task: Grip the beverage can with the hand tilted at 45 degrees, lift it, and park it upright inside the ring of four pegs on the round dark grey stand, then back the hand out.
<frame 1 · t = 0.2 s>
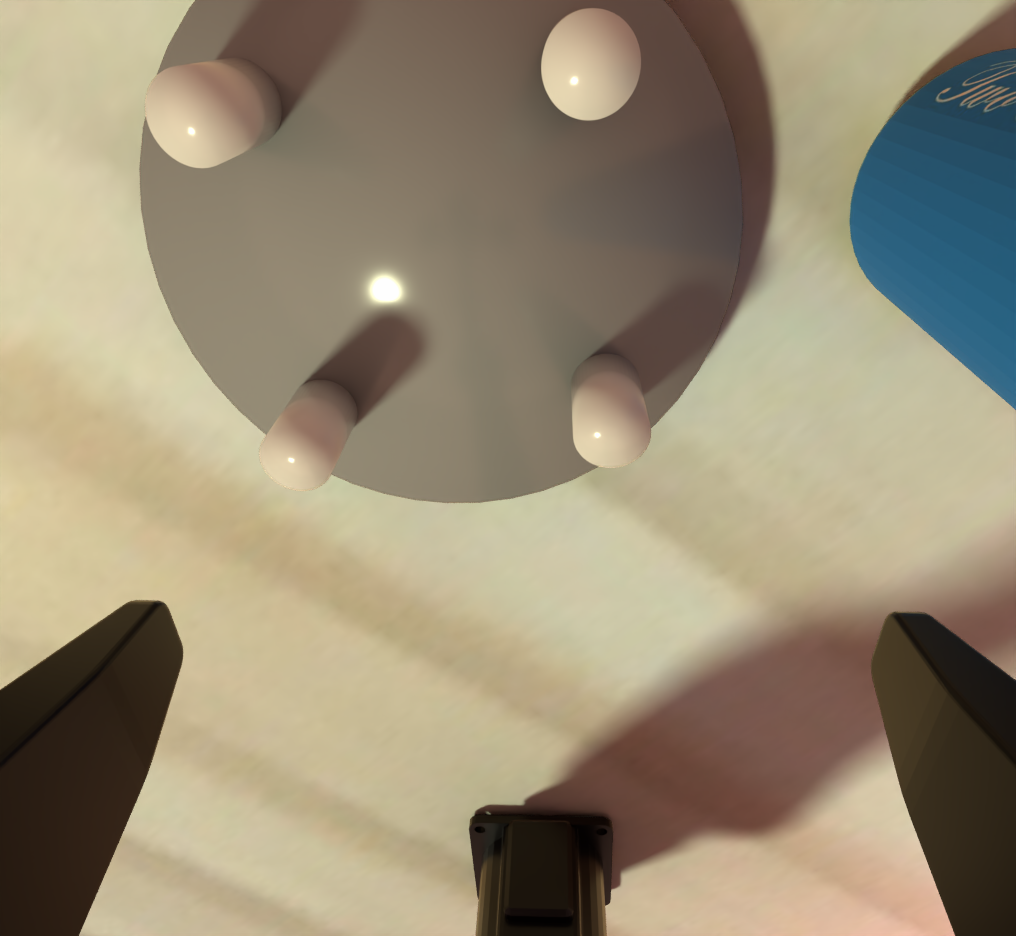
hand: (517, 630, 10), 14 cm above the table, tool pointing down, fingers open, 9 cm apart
peg stand: (444, 244, 21), on the table
beverage can: (964, 185, 20), on the table
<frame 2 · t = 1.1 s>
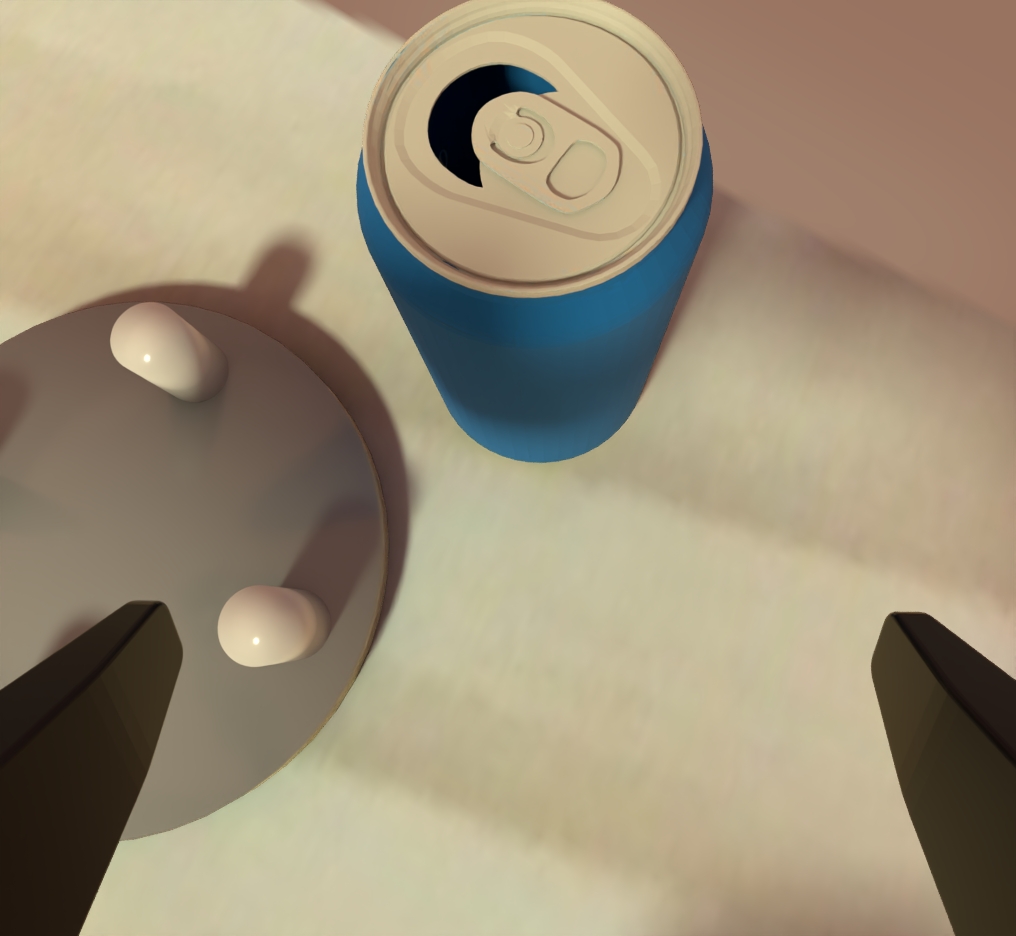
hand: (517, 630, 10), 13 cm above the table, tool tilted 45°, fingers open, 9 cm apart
peg stand: (136, 556, 24), on the table
beverage can: (541, 370, 24), on the table
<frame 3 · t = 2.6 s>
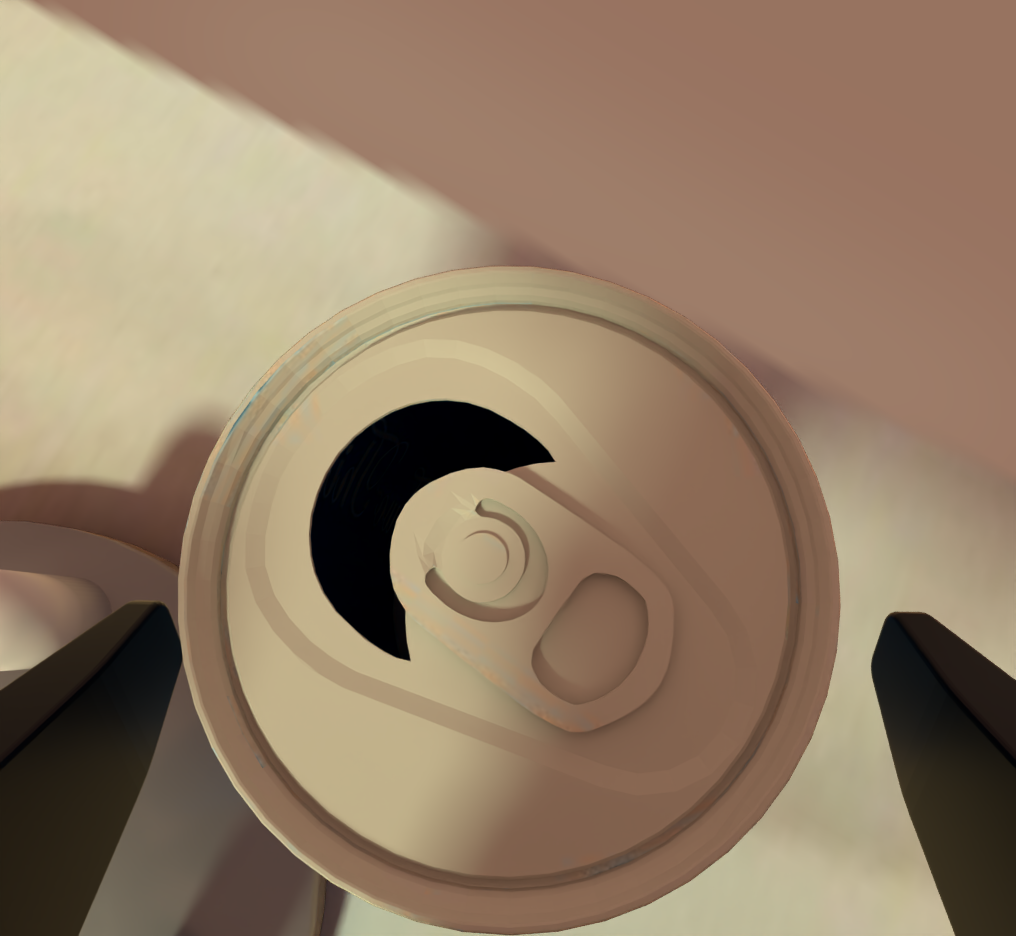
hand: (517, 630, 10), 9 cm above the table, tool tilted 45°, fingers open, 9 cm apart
beverage can: (534, 608, 18), on the table
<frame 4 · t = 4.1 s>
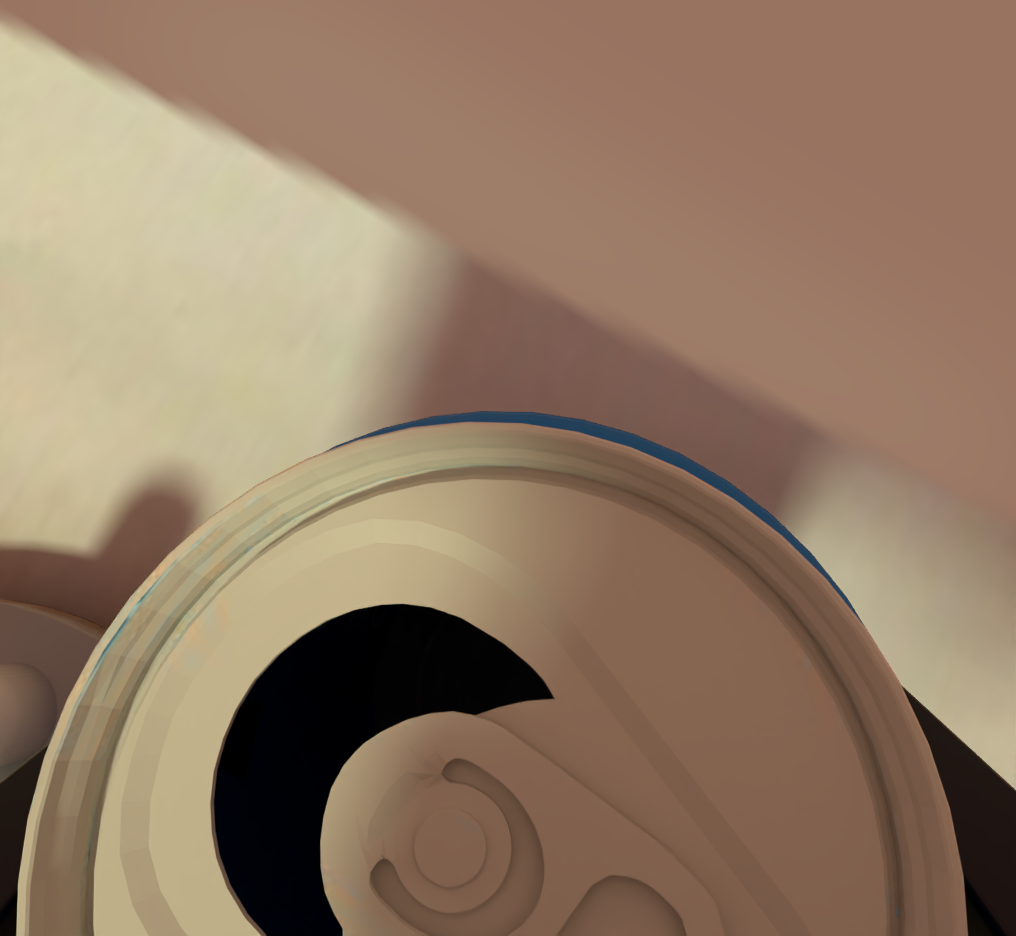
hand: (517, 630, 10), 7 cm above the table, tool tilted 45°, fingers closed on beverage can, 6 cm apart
beverage can: (531, 692, 16), on the table, touching gripper
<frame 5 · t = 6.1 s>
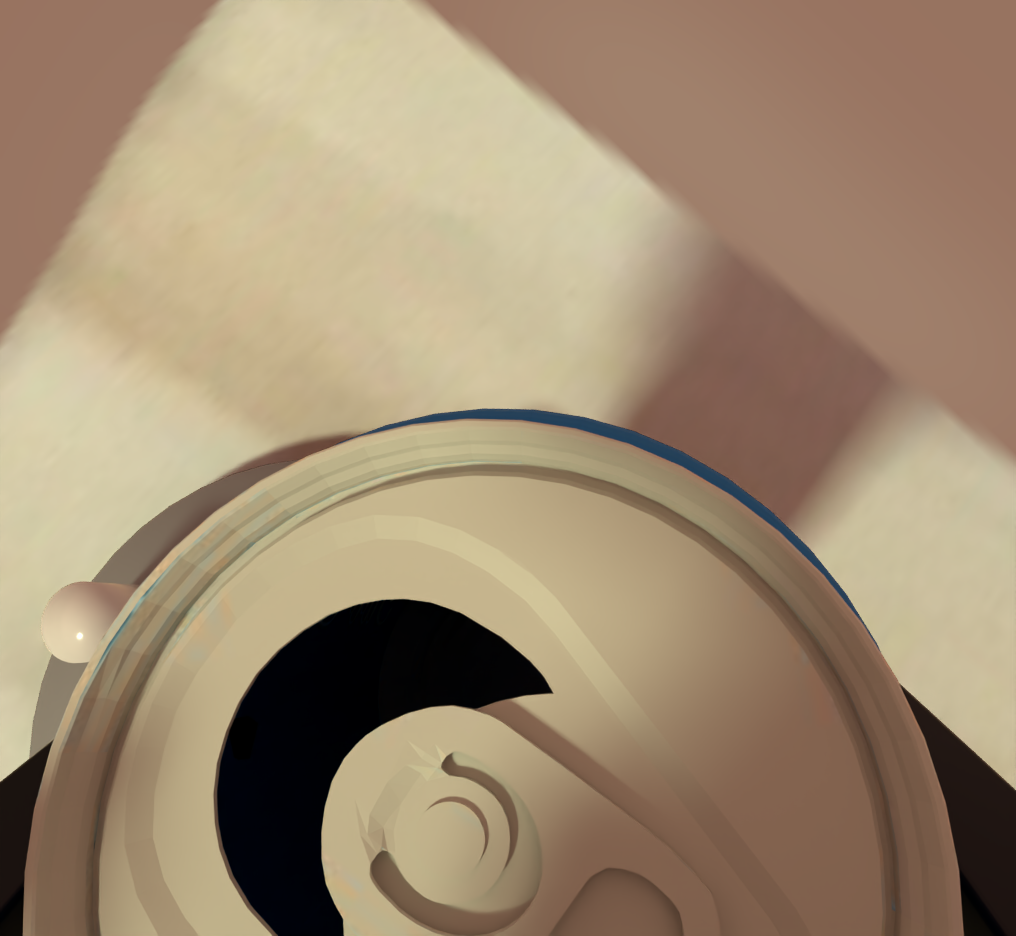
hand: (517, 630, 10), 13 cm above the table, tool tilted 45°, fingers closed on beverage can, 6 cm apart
peg stand: (321, 734, 22), on the table
beverage can: (536, 689, 16), point 6 cm above the table, touching gripper
when the fingers open (9 cm above the table, at t = 8.4 s): beverage can drops 1 cm, resting on peg stand.
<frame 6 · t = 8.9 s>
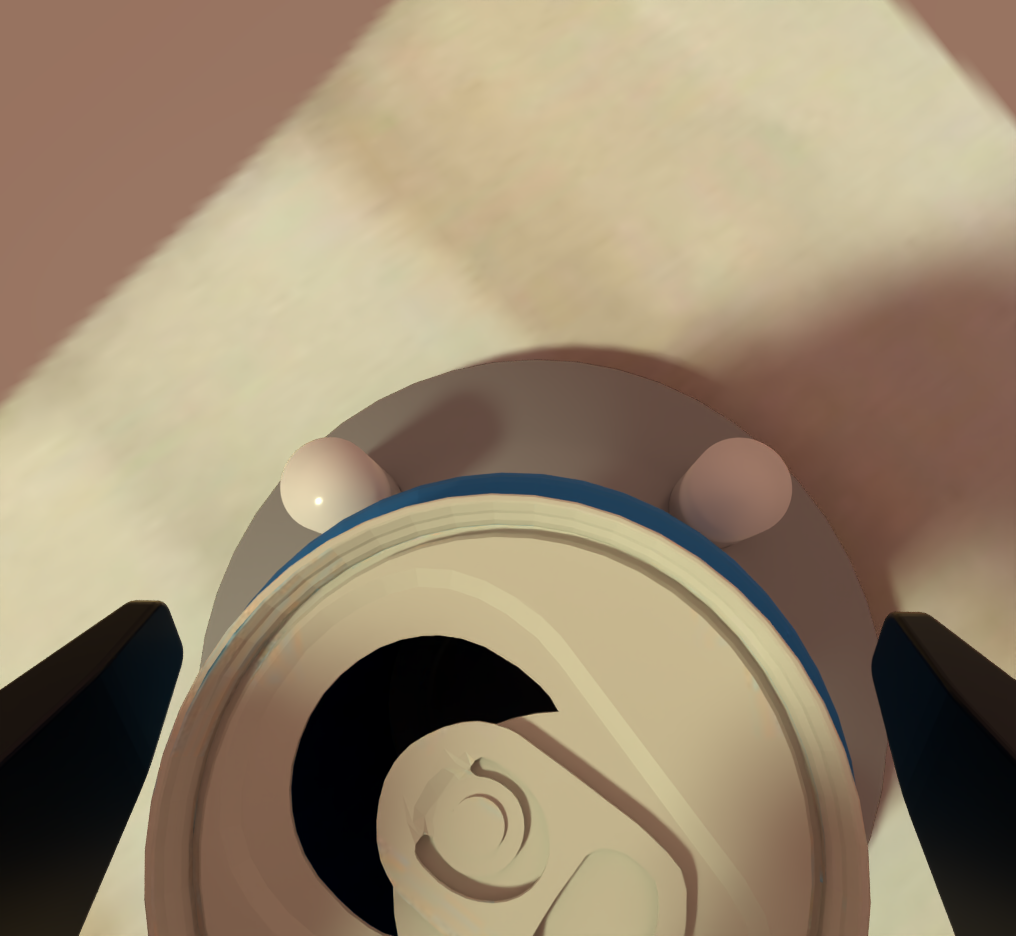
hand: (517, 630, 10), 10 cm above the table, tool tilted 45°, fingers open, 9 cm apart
peg stand: (534, 682, 19), on the table
beverage can: (534, 696, 18), point 1 cm above the table, touching peg stand
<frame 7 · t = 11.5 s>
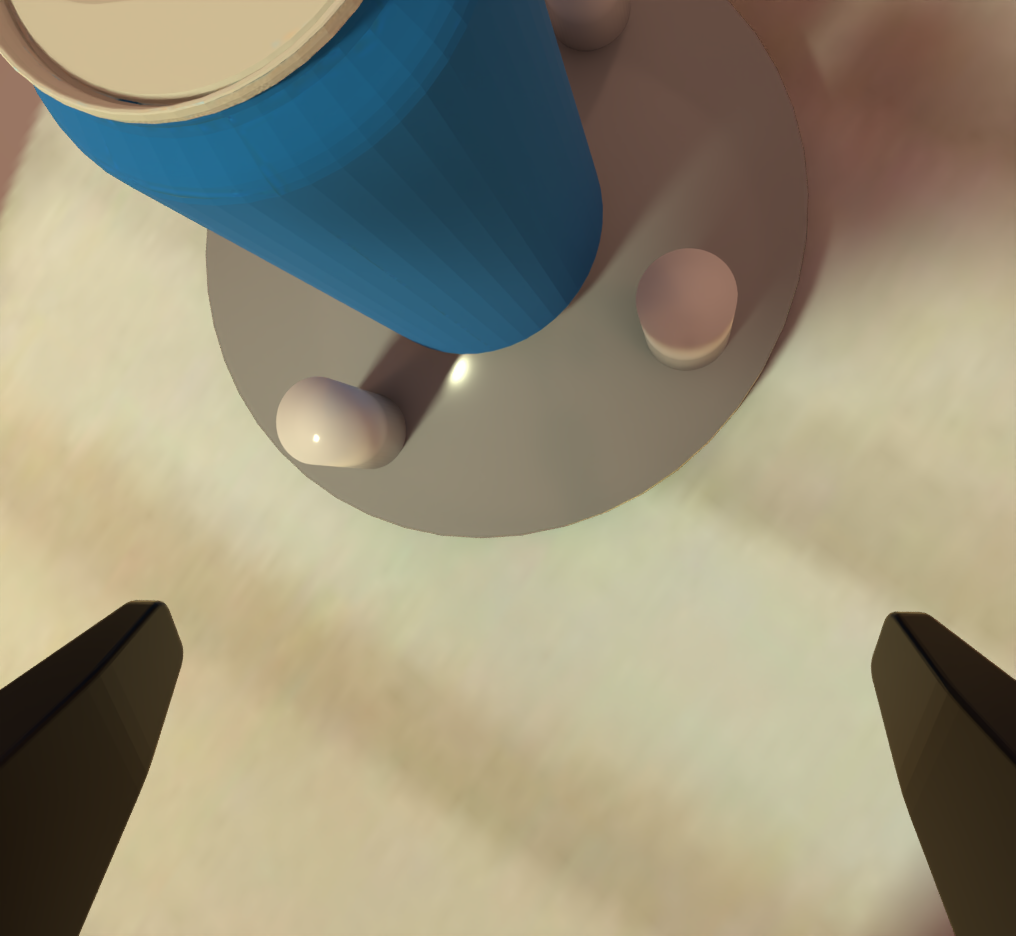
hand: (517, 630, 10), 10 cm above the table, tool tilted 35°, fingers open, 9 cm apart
peg stand: (489, 242, 21), on the table
beverage can: (483, 237, 20), point 1 cm above the table, touching peg stand
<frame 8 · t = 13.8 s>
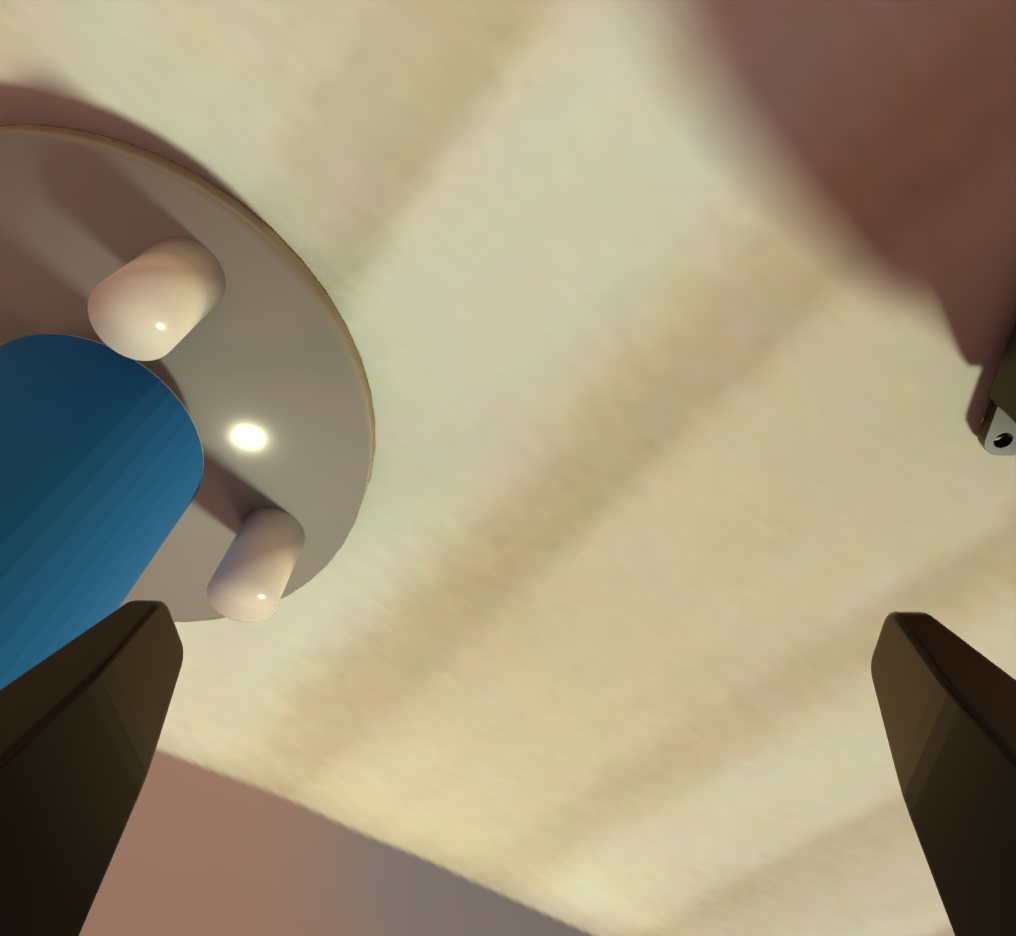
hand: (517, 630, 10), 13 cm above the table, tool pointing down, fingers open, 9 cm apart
peg stand: (116, 406, 23), on the table
beverage can: (107, 421, 22), point 1 cm above the table, touching peg stand
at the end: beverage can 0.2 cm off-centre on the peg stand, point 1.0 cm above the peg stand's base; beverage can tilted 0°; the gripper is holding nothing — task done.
